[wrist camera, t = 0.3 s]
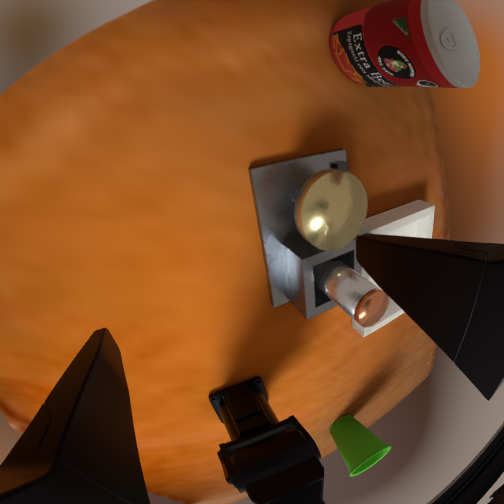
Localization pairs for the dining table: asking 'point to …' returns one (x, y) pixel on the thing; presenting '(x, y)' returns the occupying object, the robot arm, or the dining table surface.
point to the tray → (399, 224)
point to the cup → (357, 444)
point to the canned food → (407, 45)
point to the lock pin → (351, 291)
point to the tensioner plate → (287, 236)
